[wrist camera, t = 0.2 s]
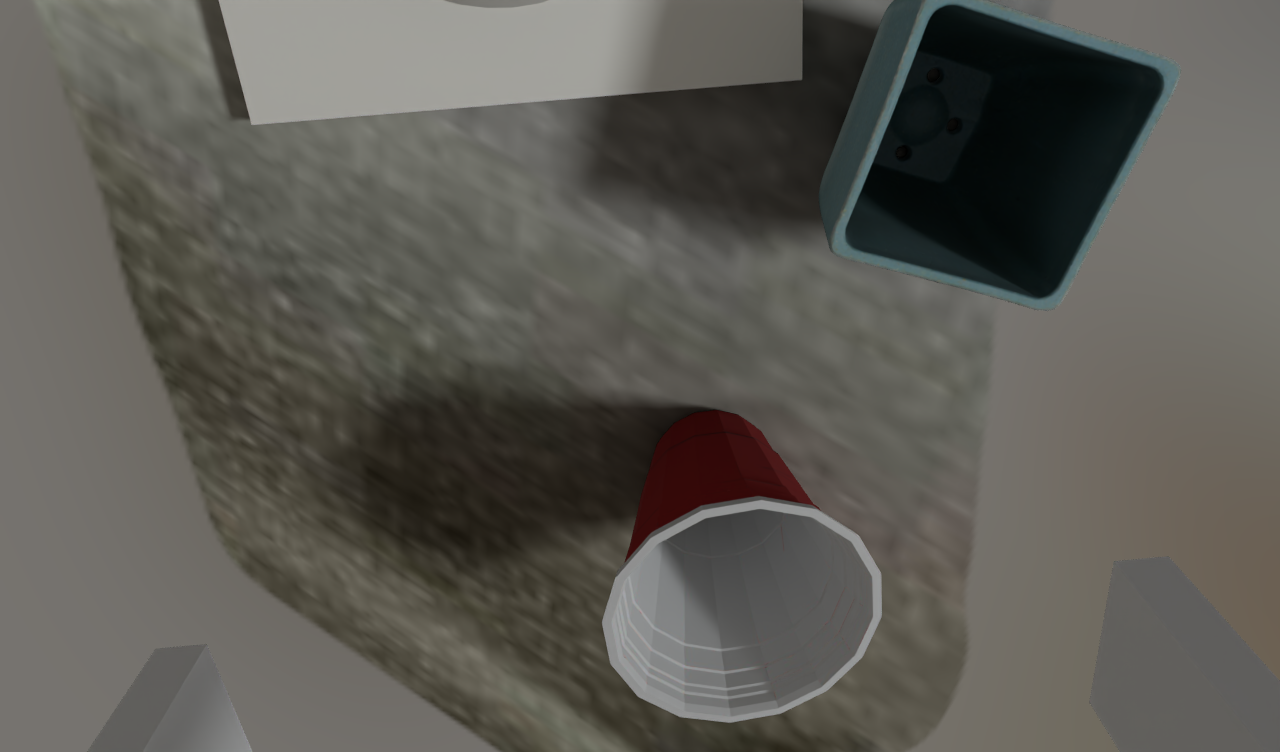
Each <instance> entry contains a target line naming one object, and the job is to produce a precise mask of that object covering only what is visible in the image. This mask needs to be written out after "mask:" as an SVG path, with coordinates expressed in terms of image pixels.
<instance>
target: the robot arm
mask: <svg viewBox="0 0 1280 752" xmlns="http://www.w3.org/2000/svg"><path fill="white" fill-rule="evenodd" d="M1090 704H1091V706H1092V707H1093V709H1094V711H1095V712H1096V714H1097V716H1098V717H1099V719H1100V721H1101V722H1102V724H1103V725H1104V727H1105V729H1106V730H1107V732H1108V734H1109V735H1110V737H1111V738H1112V740H1113V741H1114V743H1115V745H1116V746H1117V748H1118V750H1119V751H1120V752H1280V681H1279V679H1278V678H1277V677H1276V676H1275V675H1274V674H1273V673H1272V672H1271V671H1270V669H1269V668H1268V667H1267V666H1266V665H1265V664H1264V663H1263V662H1262V660H1261V659H1260V658H1259V657H1258V656H1257V655H1256V654H1255V653H1254V651H1253V650H1252V649H1251V648H1250V647H1249V646H1248V645H1247V644H1246V642H1245V641H1244V640H1243V639H1242V638H1241V637H1240V636H1239V635H1238V634H1237V632H1236V631H1235V630H1234V629H1233V628H1232V627H1231V626H1230V625H1229V624H1228V622H1227V621H1226V620H1225V619H1224V618H1223V617H1222V616H1221V615H1220V614H1219V612H1218V611H1217V610H1216V609H1215V608H1214V607H1213V606H1212V604H1211V603H1210V602H1209V601H1208V600H1207V599H1206V598H1205V597H1204V595H1203V594H1202V593H1201V592H1200V591H1199V590H1198V589H1197V588H1196V587H1195V586H1194V584H1193V583H1192V582H1191V581H1190V580H1189V579H1188V578H1187V576H1185V574H1184V573H1183V572H1182V571H1181V570H1180V569H1179V568H1178V566H1177V565H1176V564H1175V563H1174V562H1173V561H1172V560H1171V559H1170V557H1168V556H1167V557H1155V558H1145V559H1135V560H1134V559H1133V560H1122V561H1114V564H1113V570H1112V576H1111V581H1110V587H1109V592H1108V598H1107V604H1106V610H1105V615H1104V621H1103V627H1102V633H1101V638H1100V645H1099V650H1098V656H1097V662H1096V667H1095V673H1094V679H1093V684H1092V690H1091V696H1090ZM87 752H252V750H251V747H250V745H249V743H248V741H247V738H246V736H245V734H244V731H243V729H242V726H241V724H240V721H239V719H238V717H237V714H236V712H235V710H234V707H233V705H232V703H231V700H230V698H229V695H228V693H227V691H226V688H225V686H224V684H223V682H222V679H221V676H220V674H219V672H218V669H217V667H216V665H215V663H214V660H213V658H212V655H211V653H210V651H209V648H208V646H207V644H204V645H193V646H182V647H170V648H160V649H155V650H154V652H153V654H152V655H151V657H150V658H149V659H148V661H147V663H146V664H145V665H144V667H143V669H142V670H141V671H140V673H139V674H138V676H137V678H136V679H135V681H134V682H133V684H132V685H131V687H130V688H129V690H128V691H127V693H126V694H125V696H124V697H123V699H122V700H121V702H120V703H119V705H118V706H117V708H116V709H115V711H114V712H113V714H112V715H111V717H110V718H109V720H108V721H107V723H106V724H105V726H104V727H103V729H102V730H101V732H100V733H99V735H98V736H97V738H96V739H95V741H94V742H93V744H92V745H91V747H90V748H89V750H88V751H87Z"/></svg>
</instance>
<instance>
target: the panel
mask: <svg viewBox="0 0 1280 752" xmlns="http://www.w3.org/2000/svg"><path fill="white" fill-rule="evenodd" d="M219 3H220V7H221V11H222V15H223V19H224V22H225V26H226V30H227V34H228V37H229V41H230V45H231V49H232V52H233V56H234V60H235V64H236V67H237V71H238V75H239V79H240V83H241V86H242V90H243V94H244V98H245V101H246V105H247V109H248V113H249V116H250V120H251V124H252V125H258V124H270V123H282V122H294V121H307V120H319V119H331V118H343V117H355V116H368V115H380V114H392V113H404V112H416V111H429V110H441V109H453V108H465V107H478V106H490V105H502V104H514V103H526V102H539V101H551V100H563V99H575V98H587V97H600V96H612V95H624V94H636V93H649V92H661V91H673V90H685V89H697V88H710V87H722V86H734V85H746V84H758V83H771V82H783V81H795V80H802V37H803V0H219Z"/></svg>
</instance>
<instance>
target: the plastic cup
mask: <svg viewBox="0 0 1280 752" xmlns="http://www.w3.org/2000/svg"><path fill="white" fill-rule="evenodd" d="M881 617H882V597H881V573H880V571H879V569H878V567H877V566H876V564H875V562H874V561H873V559H872V557H871V556H870V554H869V552H868V550H867V549H866V547H865V545H864V544H863V542H862V540H861V539H860V537H859V535H857V534H856V533H855V532H853V531H852V530H851V529H849V528H847V527H846V526H844V525H843V524H841V523H839V522H838V521H836V520H835V519H833V518H831V517H830V516H828V515H827V514H825V513H824V512H822V511H821V510H820V509H819V507H817V506H816V505H814V504H813V503H812V501H811V500H810V498H809V497H808V496H807V494H806V493H805V491H804V490H803V489H802V487H801V486H800V484H799V483H798V481H797V480H796V479H795V477H794V476H793V474H792V473H791V472H790V470H789V469H788V467H787V466H786V464H785V463H784V462H783V460H782V459H781V457H780V456H779V454H778V453H776V452H775V451H773V449H772V448H771V446H770V445H769V443H768V441H767V440H766V438H765V437H764V435H763V434H762V432H761V431H760V430H759V429H757V428H756V427H755V426H754V425H752V424H751V423H750V422H748V421H747V420H745V419H744V418H742V417H741V416H739V415H737V414H732V413H728V412H723V411H719V410H713V411H705V412H697V413H693V414H691V415H689V416H687V417H685V418H683V419H681V420H679V421H677V422H675V423H674V424H673V425H672V426H671V427H670V428H669V430H668V431H667V432H666V433H665V434H664V435H663V436H662V438H661V439H660V441H659V442H658V444H657V446H656V449H655V452H654V455H653V459H652V462H651V465H650V469H649V472H648V475H647V478H646V482H645V485H644V488H643V491H642V495H641V499H640V503H639V508H638V512H637V517H636V521H635V525H634V530H633V534H632V539H631V543H630V547H629V550H628V553H627V556H626V559H625V563H624V564H623V565H622V566H621V567H620V569H619V570H618V571H617V574H616V578H615V581H614V584H613V587H612V591H611V594H610V597H609V601H608V604H607V607H606V610H605V614H604V617H603V620H602V625H603V630H604V635H605V640H606V644H607V649H608V654H609V659H610V664H611V665H612V666H613V667H614V669H615V670H616V671H617V672H618V673H619V675H620V676H621V677H622V678H623V679H624V680H625V682H626V683H627V684H628V685H629V686H630V688H631V689H632V690H633V691H634V692H635V693H636V695H637V696H638V697H640V698H642V699H644V700H646V701H648V702H650V703H652V704H654V705H656V706H658V707H661V708H663V709H665V710H667V711H669V712H671V713H673V714H675V715H677V716H679V717H685V718H694V719H703V720H712V721H720V722H729V723H730V722H736V721H741V720H747V719H752V718H758V717H764V716H769V715H775V714H780V713H783V712H785V711H787V710H789V709H791V708H793V707H795V706H797V705H799V704H801V703H803V702H805V701H807V700H809V699H811V698H813V697H815V696H817V695H819V694H821V693H823V692H826V691H827V690H828V689H829V688H830V687H831V686H833V685H834V684H835V683H836V682H837V681H838V680H839V679H840V678H841V677H842V676H843V675H844V674H845V673H846V672H847V671H848V670H849V669H850V668H851V667H853V666H854V665H855V664H856V663H857V662H858V661H859V660H860V659H861V658H862V657H863V655H864V653H865V651H866V648H867V646H868V644H869V642H870V640H871V638H872V636H873V634H874V632H875V629H876V627H877V625H878V623H879V621H880V619H881Z"/></svg>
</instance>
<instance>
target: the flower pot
mask: <svg viewBox="0 0 1280 752" xmlns="http://www.w3.org/2000/svg"><path fill="white" fill-rule="evenodd" d="M933 68H937V69H938V70H939V72H940V77H939V79H938V80H936V81H935V82H930V81H929V80H928V78H927V75H928V72H929V71H930V70H931V69H933ZM1180 73H1181V69H1180V66H1179V64H1177V63H1176V62H1175V61H1174V60H1173V59H1171V58H1168V57H1166V56H1163V55H1160V54H1156V53H1153V52H1149V51H1146V50H1143V49H1139V48H1135V47H1131V46H1129V45H1126V44H1123V43H1119V42H1115V41H1112V40H1108V39H1106V38H1102V37H1099V36H1096V35H1093V34H1089V33H1086V32H1083V31H1080V30H1076V29H1073V28H1070V27H1067V26H1064V25H1061V24H1057V23H1054V22H1052V21H1049V20H1045V19H1042V18H1040V17H1037V16H1034V15H1030V14H1027V13H1025V12H1022V11H1019V10H1015V9H1012V8H1009V7H1006V6H1003V5H1000V4H997V3H994V2H991V1H988V0H894V1H893V2H892V3H891V4H890V5H889V7H888V8H887V10H886V12H885V14H884V16H883V18H882V20H881V23H880V26H879V29H878V31H877V34H876V37H875V40H874V43H873V45H872V48H871V51H870V53H869V56H868V59H867V61H866V64H865V67H864V70H863V72H862V75H861V78H860V80H859V83H858V86H857V89H856V91H855V94H854V97H853V99H852V102H851V105H850V107H849V110H848V113H847V115H846V118H845V121H844V123H843V126H842V128H841V131H840V134H839V136H838V139H837V141H836V144H835V147H834V149H833V152H832V154H831V157H830V159H829V162H828V164H827V167H826V169H825V172H824V175H823V178H822V181H821V185H820V190H819V205H820V211H821V216H822V220H823V224H824V228H825V232H826V236H827V240H828V243H829V248H830V250H831V252H832V253H833V254H834V255H836V256H838V257H841V258H845V259H848V260H851V261H855V262H859V263H865V264H868V265H872V266H876V267H880V268H884V269H888V270H891V271H895V272H901V273H904V274H907V275H912V276H915V277H920V278H923V279H927V280H931V281H935V282H937V283H942V284H946V285H950V286H954V287H958V288H962V289H965V290H969V291H972V292H976V293H980V294H983V295H987V296H990V297H994V298H998V299H1001V300H1005V301H1008V302H1012V303H1015V304H1018V305H1021V306H1024V307H1028V308H1031V309H1034V310H1045V311H1047V310H1053V309H1055V308H1056V307H1058V306H1059V305H1060V304H1061V303H1062V301H1063V299H1064V298H1065V296H1066V295H1067V293H1068V291H1069V290H1070V287H1071V285H1072V283H1073V281H1074V279H1075V277H1076V275H1077V274H1078V272H1079V269H1080V267H1081V265H1082V263H1083V261H1084V259H1085V258H1086V256H1087V254H1088V252H1089V250H1090V248H1091V246H1092V244H1093V242H1094V241H1095V239H1096V237H1097V235H1098V233H1099V231H1100V229H1101V228H1102V226H1103V224H1104V222H1105V220H1106V218H1107V216H1108V214H1109V212H1110V210H1111V208H1112V206H1113V204H1114V203H1115V201H1116V198H1117V197H1118V195H1119V193H1120V191H1121V189H1122V188H1123V186H1124V184H1125V182H1126V180H1127V178H1128V176H1129V174H1130V172H1131V170H1132V168H1133V166H1134V165H1135V163H1136V162H1137V160H1138V158H1139V156H1140V154H1141V152H1142V151H1143V149H1144V147H1145V145H1146V143H1147V141H1148V138H1149V137H1150V135H1151V133H1152V131H1153V130H1154V128H1155V126H1156V124H1157V122H1158V120H1159V119H1160V117H1161V115H1162V113H1163V112H1164V110H1165V108H1166V106H1167V104H1168V102H1169V100H1170V98H1171V97H1172V94H1173V92H1174V90H1175V88H1176V85H1177V83H1178V80H1179V78H1180ZM953 118H954V119H957V120H958V124H959V125H958V127H957V128H956V129H955V130H953V131H949V130H948V129H947V125H948V122H949V120H951V119H953ZM901 146H905V147H906V148H907V150H908V154H907V155H906V156H905V157H904V158H898V157H897V156H896V151H897V149H898V148H899V147H901Z"/></svg>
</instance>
